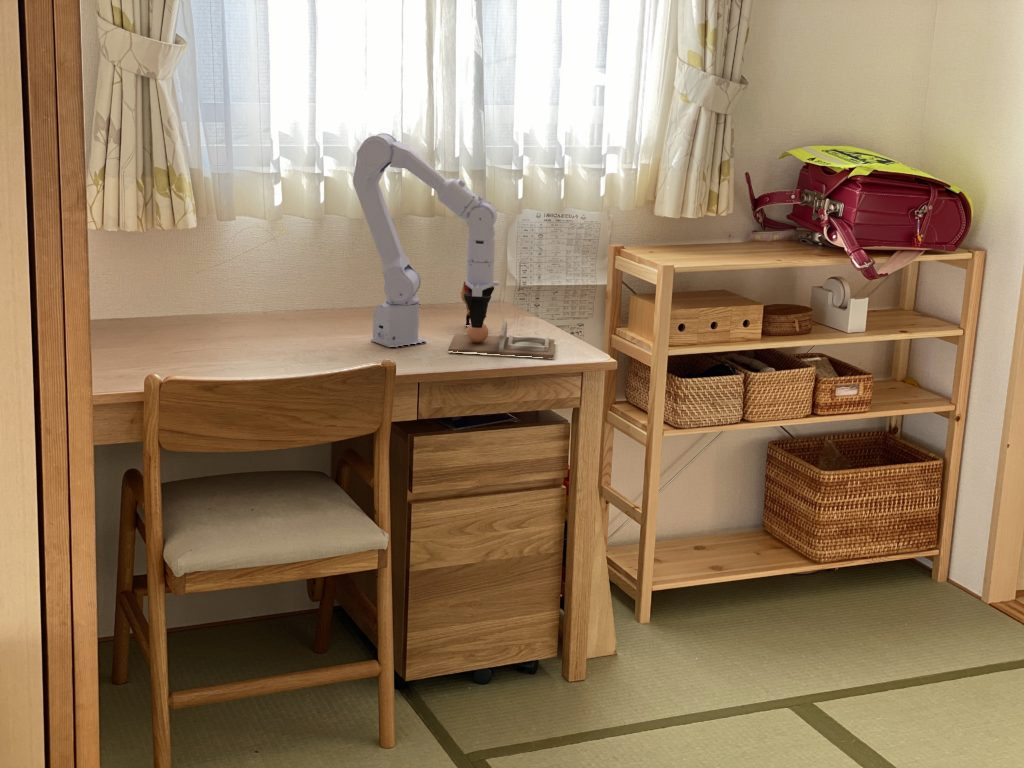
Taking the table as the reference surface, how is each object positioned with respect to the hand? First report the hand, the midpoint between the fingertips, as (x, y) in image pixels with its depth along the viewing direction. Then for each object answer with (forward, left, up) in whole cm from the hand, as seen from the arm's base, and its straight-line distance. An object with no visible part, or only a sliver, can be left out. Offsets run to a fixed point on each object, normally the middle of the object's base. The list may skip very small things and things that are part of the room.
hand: (478, 323), depth 256 cm
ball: (0, 0, -2) cm, 2 cm away
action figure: (+11, +14, -5) cm, 19 cm away
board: (+4, -4, -5) cm, 7 cm away
